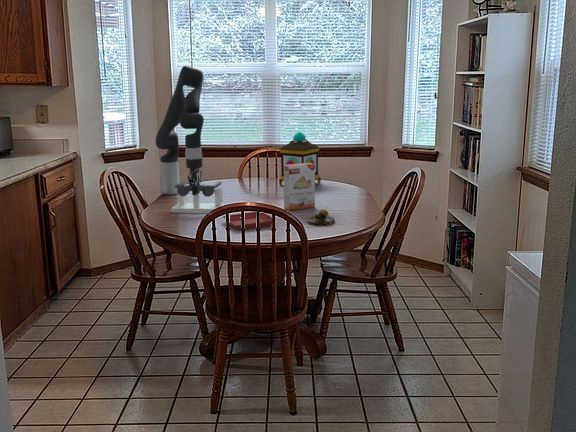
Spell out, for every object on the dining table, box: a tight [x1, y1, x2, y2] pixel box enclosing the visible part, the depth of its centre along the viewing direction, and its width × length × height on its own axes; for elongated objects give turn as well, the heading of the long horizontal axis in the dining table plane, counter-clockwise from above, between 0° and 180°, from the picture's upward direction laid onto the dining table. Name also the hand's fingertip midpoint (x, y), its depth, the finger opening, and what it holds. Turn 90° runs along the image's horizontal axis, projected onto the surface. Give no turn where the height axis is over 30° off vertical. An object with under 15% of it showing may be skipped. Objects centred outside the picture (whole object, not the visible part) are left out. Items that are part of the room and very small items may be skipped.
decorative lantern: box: [278, 131, 321, 186], centre depth 334 cm, size 20×20×30 cm
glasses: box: [175, 180, 222, 198], centre depth 278 cm, size 19×11×5 cm, turn 80°
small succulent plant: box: [306, 206, 336, 227], centre depth 251 cm, size 12×12×8 cm
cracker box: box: [283, 163, 316, 211], centre depth 276 cm, size 14×6×21 cm, turn 117°
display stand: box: [170, 187, 227, 214], centre depth 278 cm, size 23×12×10 cm, turn 80°
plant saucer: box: [222, 211, 273, 231], centre depth 251 cm, size 18×18×3 cm
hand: (195, 194), depth 274 cm, fingers closed on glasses, 3 cm apart
